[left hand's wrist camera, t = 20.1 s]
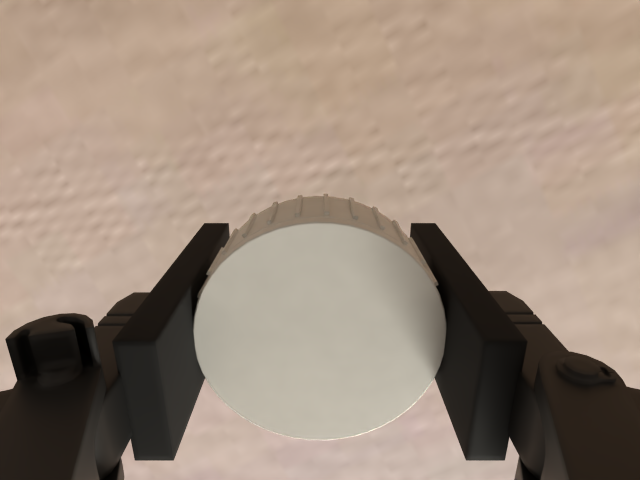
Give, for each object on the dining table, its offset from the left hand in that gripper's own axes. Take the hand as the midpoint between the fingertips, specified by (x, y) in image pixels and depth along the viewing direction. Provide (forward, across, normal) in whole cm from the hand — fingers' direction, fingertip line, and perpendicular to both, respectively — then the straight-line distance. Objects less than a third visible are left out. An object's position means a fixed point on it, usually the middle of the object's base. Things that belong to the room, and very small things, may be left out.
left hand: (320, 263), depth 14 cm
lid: (-4, 0, 0) cm, 4 cm away
